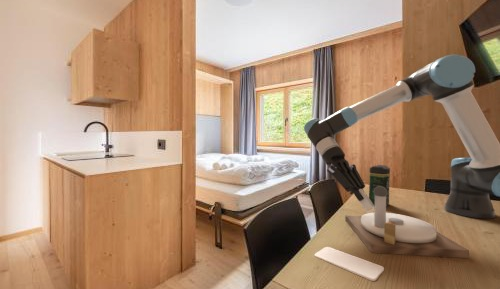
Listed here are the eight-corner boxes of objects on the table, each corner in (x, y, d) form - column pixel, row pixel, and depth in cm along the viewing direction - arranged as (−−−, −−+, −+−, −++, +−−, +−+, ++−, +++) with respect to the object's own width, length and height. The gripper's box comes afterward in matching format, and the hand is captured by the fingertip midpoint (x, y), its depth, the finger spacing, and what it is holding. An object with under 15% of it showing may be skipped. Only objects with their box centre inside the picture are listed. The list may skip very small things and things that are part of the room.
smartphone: (326, 246, 65) (385, 267, 54) (326, 248, 65) (385, 270, 54) (312, 254, 60) (374, 280, 49) (312, 257, 60) (374, 283, 49)
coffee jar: (385, 208, 101) (386, 166, 100) (366, 204, 106) (367, 165, 106) (391, 204, 108) (392, 165, 107) (373, 200, 113) (373, 163, 113)
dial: (386, 214, 86) (387, 177, 85) (451, 235, 67) (452, 187, 67) (347, 222, 77) (348, 181, 77) (408, 248, 59) (409, 194, 59)
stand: (413, 223, 83) (414, 204, 83) (468, 258, 59) (469, 231, 59) (345, 220, 86) (345, 202, 86) (371, 252, 62) (371, 227, 62)
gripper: (336, 158, 91) (374, 211, 77) (312, 158, 84) (349, 217, 70) (348, 145, 86) (391, 200, 72) (324, 145, 80) (366, 205, 66)
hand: (370, 208), depth 71 cm, fingers closed
